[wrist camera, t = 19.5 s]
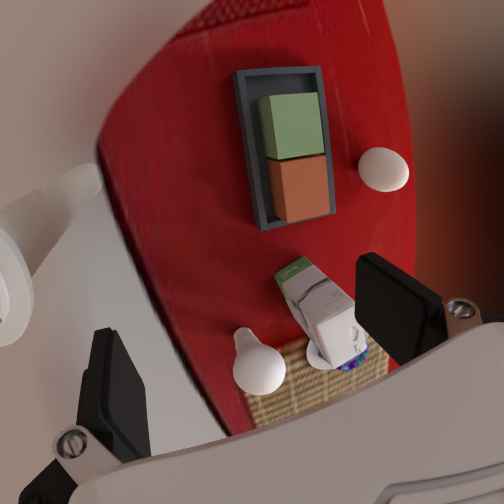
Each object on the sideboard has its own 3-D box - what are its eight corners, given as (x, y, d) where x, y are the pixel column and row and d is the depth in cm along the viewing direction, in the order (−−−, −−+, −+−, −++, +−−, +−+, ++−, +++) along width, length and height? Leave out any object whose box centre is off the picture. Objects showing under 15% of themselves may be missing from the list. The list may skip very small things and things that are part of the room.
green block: (264, 155, 33) (278, 159, 29) (256, 99, 30) (269, 95, 27) (307, 149, 34) (324, 152, 31) (300, 95, 31) (317, 92, 28)
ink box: (272, 273, 40) (314, 325, 29) (305, 254, 40) (356, 299, 30) (293, 319, 44) (333, 373, 33) (323, 301, 44) (369, 350, 34)
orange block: (273, 213, 36) (287, 223, 32) (266, 159, 33) (279, 163, 30) (313, 204, 37) (330, 213, 33) (308, 151, 34) (325, 155, 31)
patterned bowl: (346, 367, 52) (360, 386, 47) (292, 365, 47) (305, 387, 43) (378, 312, 49) (397, 328, 44) (326, 302, 44) (344, 321, 40)
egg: (383, 175, 39) (423, 186, 32) (355, 191, 39) (393, 206, 32) (373, 139, 37) (414, 145, 30) (342, 154, 36) (382, 162, 29)
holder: (255, 226, 36) (261, 231, 35) (231, 74, 29) (236, 70, 27) (327, 208, 38) (336, 213, 37) (311, 68, 31) (320, 65, 29)
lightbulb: (269, 317, 42) (303, 370, 32) (251, 351, 44) (278, 406, 34) (229, 308, 40) (255, 364, 30) (212, 344, 41) (232, 404, 31)
